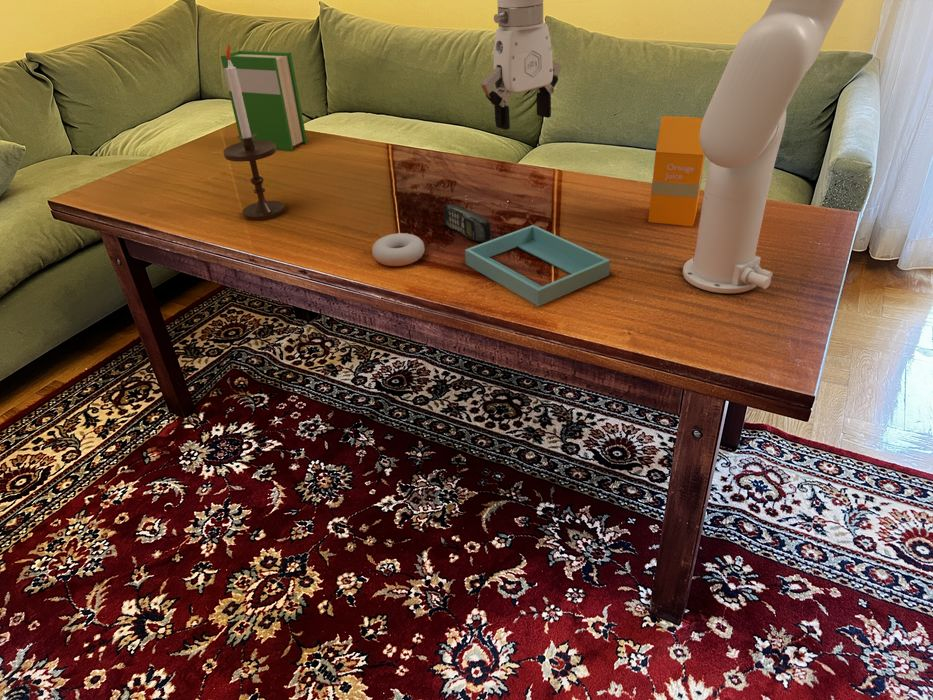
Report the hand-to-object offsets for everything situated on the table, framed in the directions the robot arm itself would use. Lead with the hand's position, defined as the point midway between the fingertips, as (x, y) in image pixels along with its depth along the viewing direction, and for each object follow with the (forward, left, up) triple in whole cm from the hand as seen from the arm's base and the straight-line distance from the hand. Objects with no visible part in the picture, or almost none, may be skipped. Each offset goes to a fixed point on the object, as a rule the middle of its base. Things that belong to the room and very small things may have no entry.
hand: (523, 122), depth 122 cm
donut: (+9, +24, -22) cm, 34 cm away
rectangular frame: (-12, +8, -22) cm, 27 cm away
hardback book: (+96, +13, -22) cm, 99 cm away
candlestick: (+49, +35, -22) cm, 64 cm away
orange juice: (-13, -28, -22) cm, 38 cm away
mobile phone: (+7, +8, -22) cm, 25 cm away
